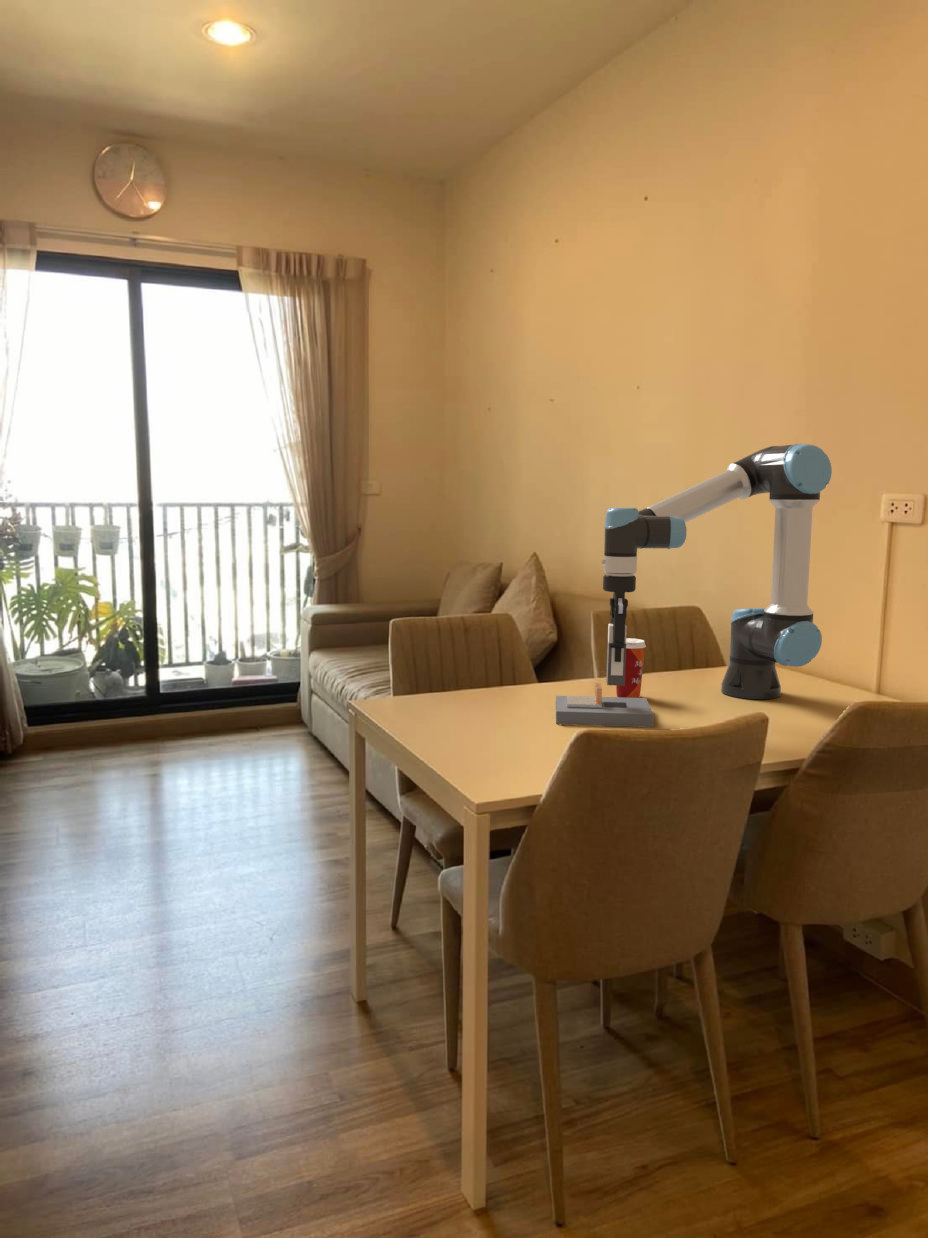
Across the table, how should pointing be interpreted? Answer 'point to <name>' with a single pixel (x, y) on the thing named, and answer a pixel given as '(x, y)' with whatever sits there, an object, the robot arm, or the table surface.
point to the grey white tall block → (610, 678)
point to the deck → (607, 712)
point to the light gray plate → (586, 699)
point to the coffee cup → (632, 669)
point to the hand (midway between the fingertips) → (616, 672)
